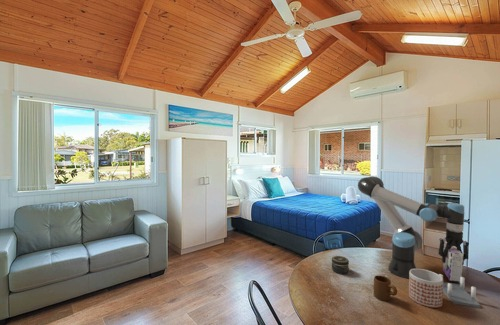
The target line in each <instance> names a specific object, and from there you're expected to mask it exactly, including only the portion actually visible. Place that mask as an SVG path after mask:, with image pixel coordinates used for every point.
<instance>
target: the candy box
mask: <svg viewBox="0 0 500 325" xmlns="http://www.w3.org/2000/svg"><path fill="white" fill-rule="evenodd" d="M445 247H446V244H444V249H445ZM462 253H463V252H462ZM462 253H461V252H460V251H459V250H458V249H457V247H456V246H452V247H451V248H450V249H449V250H448V254H447V256H446V257H447V258H448V261H447V269H445V268H444V267H443V266H442V271H443V273H444V275H445V276H446V277H447V279H448V281H451V282H456V283H458V284H460V277H463V266H464V265H463V254H462Z"/></svg>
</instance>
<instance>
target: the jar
mask: <svg viewBox="0 0 500 325" xmlns="http://www.w3.org/2000/svg"><path fill="white" fill-rule="evenodd" d="M349 260H350V259H348V258H347V257H345V256H341V255H334V256H332V257H331V270H332V271H333V272H334V273H336V274H338V275H346V274H348V272H349V269H350V268H349V265H350V264H349V263H350V261H349Z"/></svg>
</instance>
